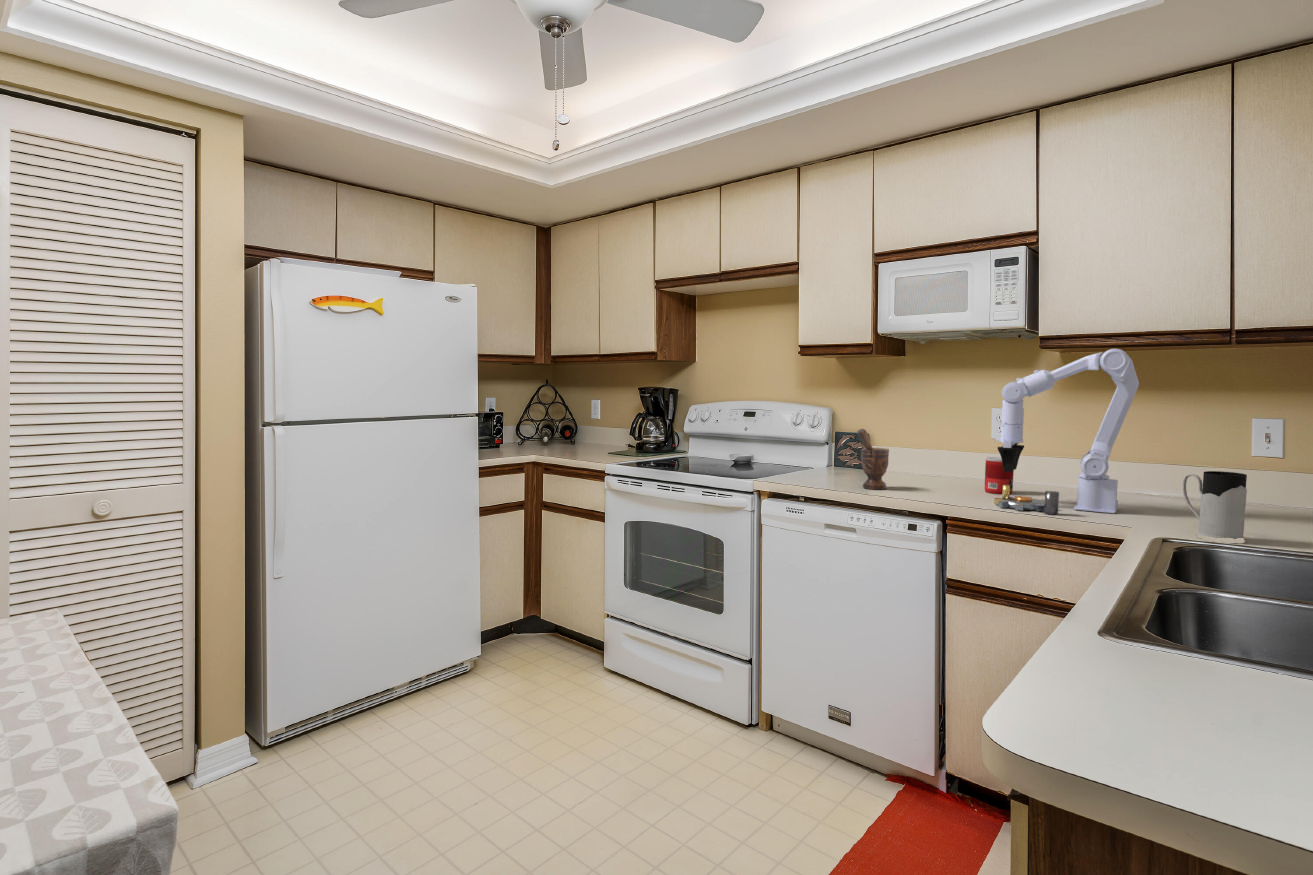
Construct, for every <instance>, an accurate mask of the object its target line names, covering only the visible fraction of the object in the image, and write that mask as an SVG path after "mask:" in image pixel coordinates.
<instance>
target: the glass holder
mask: <svg viewBox="0 0 1313 875" xmlns="http://www.w3.org/2000/svg"><path fill="white" fill-rule="evenodd" d="M1191 476H1193V477H1195V478H1196V479H1197V483H1198V492H1199V494H1200V505H1199V507H1200V508H1199V513H1198V512H1197V510H1195V508H1194V506H1193V505H1192V503H1191V502H1190V500H1189V496H1188V493H1187V481H1188V479H1189V477H1191ZM1202 476H1203V478H1201V477H1200V475H1197V474H1194V473H1189V474H1187V475H1185V476H1184V477H1183V480H1182V491H1183V498H1184V500H1185V502H1186V504H1187V506H1188V508H1189V509H1190V510H1191V511H1192V513H1193V515H1195V517H1197V519H1198V520H1199V521H1198V531H1197V533H1198V534H1200V535H1203V536H1208V537H1214V538H1233V539H1237V538H1244V539H1245V537H1244V536H1245V534H1244V531H1245V518H1246V505H1247V492H1248V489H1247V478H1248V476H1247V474H1246V473H1242V472H1241V473H1240V472H1235V471H1234V472H1233V471H1220V470H1218V471H1216V470H1210V471H1209V470H1207V471H1203V475H1202Z"/></svg>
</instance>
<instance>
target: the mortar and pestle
mask: <svg viewBox="0 0 1313 875" xmlns="http://www.w3.org/2000/svg"><path fill="white" fill-rule="evenodd" d="M857 436H858V438H859V440H860V441H861V443H862V444H863V446H864V448H862V449H861V451H860V452H861V453H860V454H861V459H860V460H861V466H862V470H863V473H864V474H865V475H866V476H867V479H866V480H865V481H864V483H863V484H862V487H863V489H864V488H865V489H867V490H879V491H880V490H886V489H887V483H886V482H884V481H883V476H884V475H885V474H886V472H887V470H888V466H889V453H890V449H889V448H887V447H886V448H883V447H873V445H872V444H871V440H870V437H869V434H868V432H867V430H866V429H864V428H860V429H858V430H857Z"/></svg>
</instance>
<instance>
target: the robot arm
mask: <svg viewBox="0 0 1313 875" xmlns="http://www.w3.org/2000/svg"><path fill="white" fill-rule="evenodd" d="M1099 368H1101V370H1103V371H1104V372H1105V373H1106V374H1107V375H1108V376H1110V378H1111V380H1112V381H1113V382H1114V385H1115V386H1116V388H1115V390H1114V393H1113V395H1112V398H1111V400H1110V402H1109V405H1108V407H1107V409H1106V412H1105V414H1104V416H1103V419H1102V421H1101V424H1100V426H1099V429H1098V430H1097V434H1096V435H1095V438H1094V440H1093V442H1092V443H1091V446H1090V448H1089V450H1088V452H1087V453H1085V454H1084V455H1083V456H1082V457H1081V459H1080V468H1081V473H1080V474H1078V476H1077V491H1076V492H1077V494H1076V495H1077V496H1076V504H1075V505H1074V507H1073V510H1076V511H1083V512H1084V511H1087V512H1096V513H1106V514H1116V511H1117V508H1118V507H1119V500H1118V484H1119V482H1118V481H1119V480H1118V479H1115V478H1114V479H1113V478H1110V476H1109V475H1108V474H1107V473H1108V471H1109V466H1110V465H1109V458H1110V456H1111V453H1112V450H1113V447H1114V445H1115V442H1116V440H1117V438H1118V435H1119V433H1120V430H1121V428H1122V426H1123V423H1124V422H1125V419H1126V417H1127V415H1128V412H1129V410H1130V407H1131V405H1132V402H1133V401H1134V398H1135V396H1136V394H1137V391H1138V388H1139V386H1140V382H1139V379H1138V375H1137V372H1136V370H1135V364H1134V362H1133V360H1132V359H1131V357H1130V356H1129V355H1128V354H1127V353H1126V351H1124V350H1123V349H1121V348H1120V349H1119V348H1110V349H1108V350H1106V351H1105V352H1103V351H1101V352H1096V353H1093V354H1090V355H1086V356H1084V357H1082V358H1078V359H1076V360H1074V361H1072V362H1069V363H1067V364H1065V365H1063V366H1061V367H1058V368H1056V369H1054V370H1051V371H1049V370H1046V369H1041V370H1039V369H1036V370H1033V373H1031V374H1029V375H1026V376H1024V377H1022V378H1020V377H1017V378H1016V379H1015V380H1016V381H1010V382H1009V383H1007V384H1006V385H1005V386H1003V388H1002V389H1001V396H1002V398H1003V400H1002V402H1001V403H1002V408H1001V419H1000V420H1001V421H1000V437H999V438H995V441H996V442H999V443H1002V446H997V451H998V453H999V456H1000V457H1001V458H1002V464H1003V469H1004V472H1012V471H1013V470H1014V471H1015V470H1017V469H1018V464H1019V461H1020V456H1021V454H1022V451H1023V450H1024V448H1025V445H1021V444H1022V443H1024V438H1023V435H1024V419H1025V418H1024V417H1025V416H1024V415H1025V414H1024V413H1025V408H1024V398H1025V397H1028V398H1031V397H1033V396H1035V395H1038V394H1040V393H1043V392H1046V391H1048V390H1051V389H1053V388H1054V386H1055V384H1056V382H1058V381H1060V380H1063V379H1065V378H1069V377H1071V376H1074V375H1076V374H1079V373H1081V372H1084V371H1085V372H1086V371H1099V370H1100V369H1099Z"/></svg>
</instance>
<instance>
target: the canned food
mask: <svg viewBox="0 0 1313 875" xmlns="http://www.w3.org/2000/svg"><path fill="white" fill-rule="evenodd" d="M984 464H985V465H984V466H985V468H984V491H985V493H987V494H990V495H991V494H992V495H1002V492H1003V485H1010V494H1009V495H1011V494H1012V493H1013V489H1014V471H1015V470H1013V471H1012V472H1004V469H1003V464H1002V458H1001V456H987V457H985V463H984Z"/></svg>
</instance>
